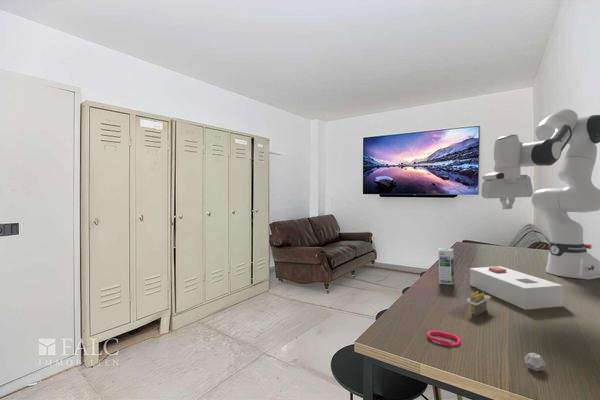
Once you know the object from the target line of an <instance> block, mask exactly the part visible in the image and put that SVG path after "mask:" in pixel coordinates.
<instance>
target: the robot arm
mask: <svg viewBox="0 0 600 400" xmlns="http://www.w3.org/2000/svg"><path fill="white" fill-rule="evenodd" d="M535 137H536V138H537V141H531V142H525V143H524V142H521V141H520V139H519V136H518V134H509V135H504V136H503V135H502V136H500V137H497V138H496V139H495V141H494V145H493V160H494V166H493V171H492V172H489V173H486V174H483V175H482V184H481V197H482V198H483V199H487V200H488V199H489V200H490V199H499V202H500V203H501V205H502V210H512V209H513V208H514V207H513V205H514V204H515V202H516V198H531V203H532V206H533V207H534V208H535V209H536V210H538V211H539V212H540V213H542V215H543V216H544V217H545V219H546V221H547V223H548V228H549V229H548V230H549V241H548V250H549V252H548V255H547V265H546V266H545V272H546V273H548V274H551V275H554V276H558V277H559V276H560V277H564V278H575V279H580V280H581V279H582V280H594V279H600V259H598V258H596V257H594V256H593V255H592V254H591V253H589V252H588V250H591V249H592V248H593V245H592V244H589V243H584V228H583V226H582V224H581V223H580V222H579V221H576V220H573V218H571V217H570V216H569V214H568V213H591V212H599V211H600V189H599V188H598V187H597V186H595V185H594V184H593V182H592V176H593V172H594V167H595V165H596V162H597V156H598V147H597V144H599V143H600V114H592V115H590V116H584V117H578V114H577V113H576V112H575V110H572V109H567V108H565V109H559V110H558V111H555V112H553V113H551V114H549V115H548V116H546V117H545V118H544V119H543V120H541V121H540V122H539V123H538V124H537V126H536V128H535ZM567 145H569V147H568V149H567V150H566V152H565V155H564V157H563V159H562V162H561V164H560V167H559V170H558V173H557V176H558V178H559V179H560V181H562V182H563V183H565V184H568V185H567V186H566V187H546V188H542V189H541V188H540V189H537V190H536V191H534V189H533V184H532V179H531V177H530V176H529V175H528V174H522V173H521V172H522V171H521V168H525V167H538V166H539V167H541V166H543V167H544V166H545V167H549V166H553V165H554V164H555V163H556V162H557V161H559V159H560V158H561V155H562V152H563V150H564V149H565V148H566V147H567ZM507 201H508V202H507ZM587 249H588V250H587Z"/></svg>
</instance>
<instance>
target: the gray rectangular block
mask: <svg viewBox="0 0 600 400" xmlns="http://www.w3.org/2000/svg"><path fill="white" fill-rule="evenodd" d="M517 281H520V282H523V283H526V284H528V283H537V282H534V281H531V280H528V279H521V280H517Z"/></svg>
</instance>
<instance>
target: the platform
mask: <svg viewBox="0 0 600 400" xmlns="http://www.w3.org/2000/svg"><path fill="white" fill-rule="evenodd" d="M490 299H491V295H487V294H485V292H484V291H482V293H480V294H479V291H478V290H477V291H475V292H473V293H471V294H470V295H469V297H467V298H466V299H465V300H466V302H467V303H468V304H470V308H471V311H470V312H471V314H472V315H474V317H478V316H479V315H481V314H482V313H484V312H487V311H488V310H487V307H488V306H487V305H488V304H487V301H488V300H490Z"/></svg>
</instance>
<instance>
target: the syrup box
mask: <svg viewBox="0 0 600 400" xmlns="http://www.w3.org/2000/svg"><path fill="white" fill-rule="evenodd" d="M454 256H455V255H454V248H444V247H439V248H438V273H439V274H438V279H439V280H438V281H439V282H438V283H439V284H440V285H452V286H455V266H454V265H455V264H454V263H455V260H454V259H455V258H454Z"/></svg>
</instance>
